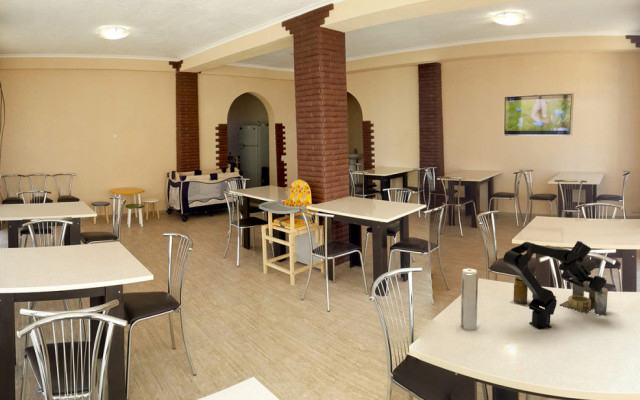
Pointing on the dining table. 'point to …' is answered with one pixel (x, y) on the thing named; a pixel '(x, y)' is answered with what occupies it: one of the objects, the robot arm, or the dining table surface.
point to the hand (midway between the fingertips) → (592, 289)
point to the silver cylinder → (469, 299)
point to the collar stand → (581, 299)
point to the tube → (601, 302)
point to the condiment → (520, 292)
